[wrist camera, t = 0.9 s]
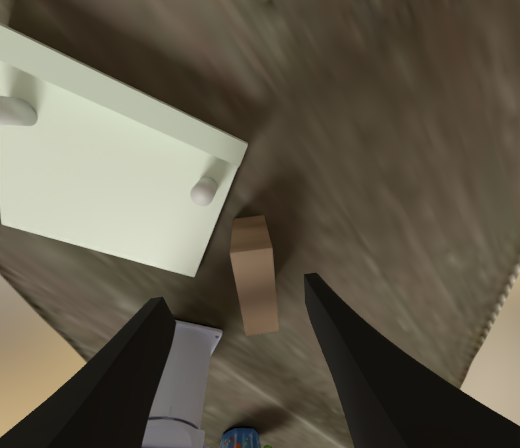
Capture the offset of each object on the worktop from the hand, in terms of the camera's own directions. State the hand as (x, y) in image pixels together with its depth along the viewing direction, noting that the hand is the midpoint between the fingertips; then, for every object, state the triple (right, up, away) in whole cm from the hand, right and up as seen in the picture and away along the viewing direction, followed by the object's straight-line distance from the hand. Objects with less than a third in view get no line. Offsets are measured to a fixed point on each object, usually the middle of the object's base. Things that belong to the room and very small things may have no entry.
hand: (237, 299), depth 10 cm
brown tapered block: (+1, +1, +11) cm, 11 cm away
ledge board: (-10, +7, +6) cm, 14 cm away
